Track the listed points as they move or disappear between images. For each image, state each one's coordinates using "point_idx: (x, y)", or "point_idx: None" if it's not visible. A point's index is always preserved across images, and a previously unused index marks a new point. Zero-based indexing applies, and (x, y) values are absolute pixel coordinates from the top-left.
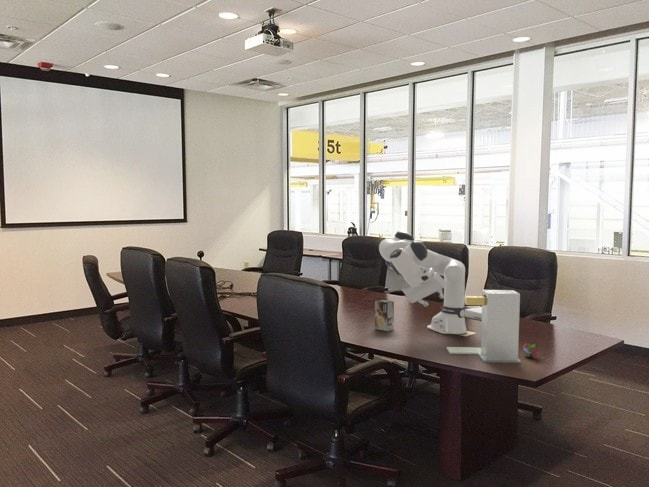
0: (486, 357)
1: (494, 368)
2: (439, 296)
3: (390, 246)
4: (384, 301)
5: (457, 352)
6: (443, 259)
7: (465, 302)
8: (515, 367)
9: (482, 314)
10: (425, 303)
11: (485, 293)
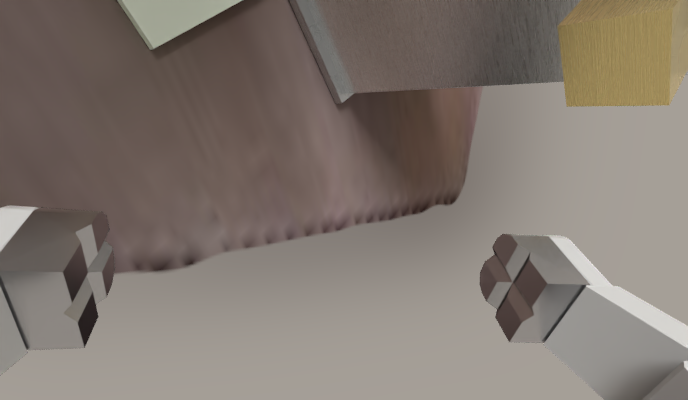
0: (354, 92)
1: (378, 159)
2: (518, 337)
3: None
4: None
5: (194, 26)
6: None
7: (581, 51)
8: (418, 100)
9: None
10: (81, 341)
11: None
